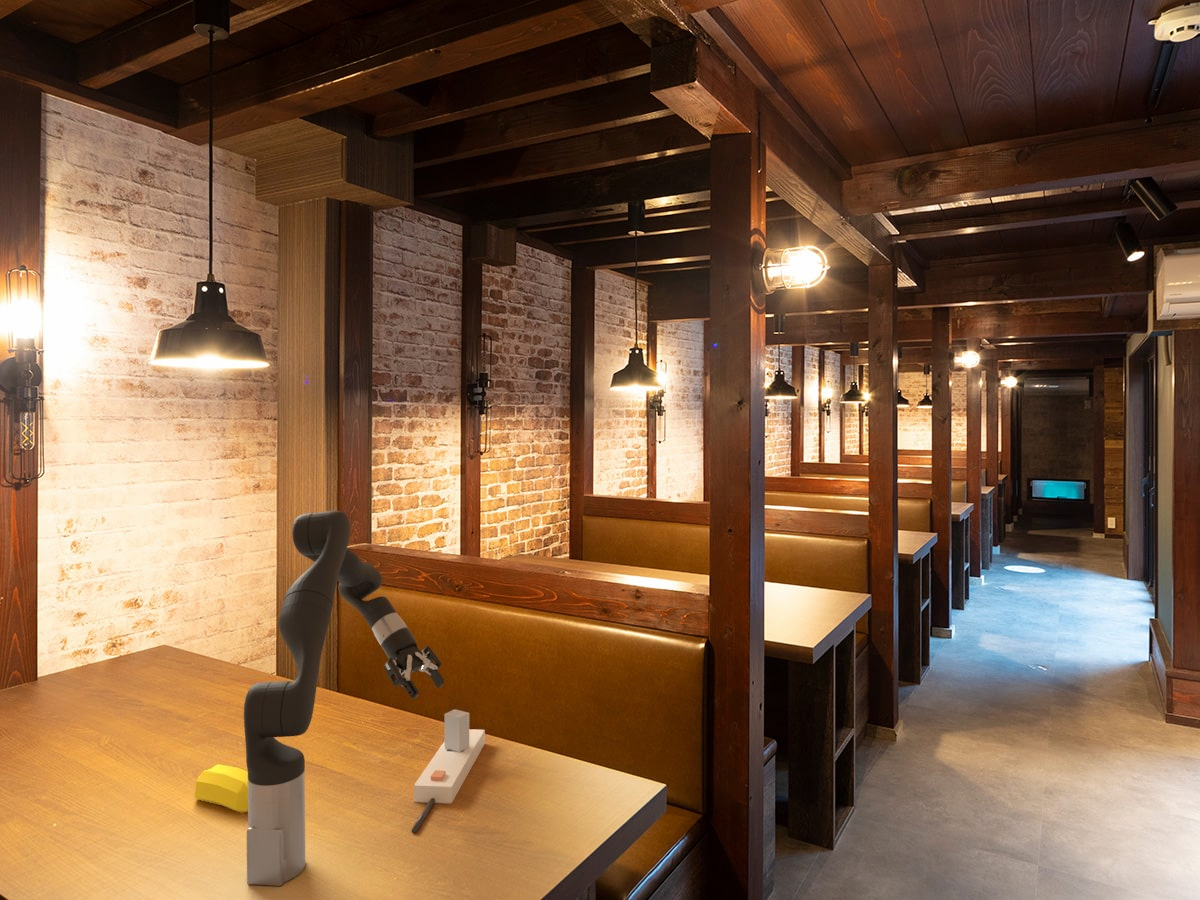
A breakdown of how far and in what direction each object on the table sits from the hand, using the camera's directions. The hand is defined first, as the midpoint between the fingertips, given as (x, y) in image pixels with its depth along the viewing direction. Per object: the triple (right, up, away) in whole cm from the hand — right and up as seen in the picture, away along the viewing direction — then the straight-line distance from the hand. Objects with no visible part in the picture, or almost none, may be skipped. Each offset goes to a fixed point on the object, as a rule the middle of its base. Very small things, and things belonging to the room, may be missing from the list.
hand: (429, 690), depth 181 cm
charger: (+7, -14, -4) cm, 16 cm away
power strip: (+7, -16, -14) cm, 22 cm away
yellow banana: (-36, -16, -22) cm, 46 cm away
